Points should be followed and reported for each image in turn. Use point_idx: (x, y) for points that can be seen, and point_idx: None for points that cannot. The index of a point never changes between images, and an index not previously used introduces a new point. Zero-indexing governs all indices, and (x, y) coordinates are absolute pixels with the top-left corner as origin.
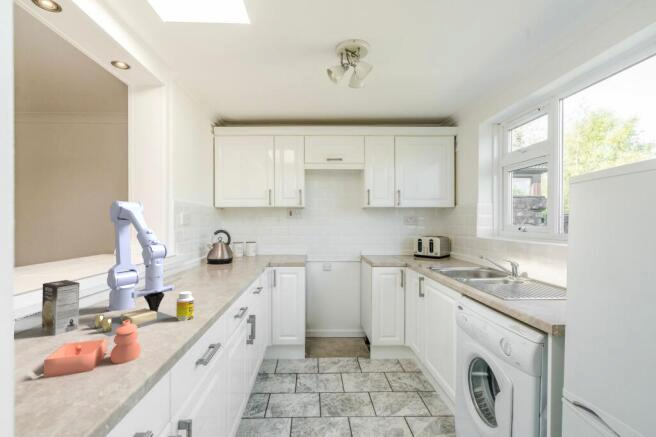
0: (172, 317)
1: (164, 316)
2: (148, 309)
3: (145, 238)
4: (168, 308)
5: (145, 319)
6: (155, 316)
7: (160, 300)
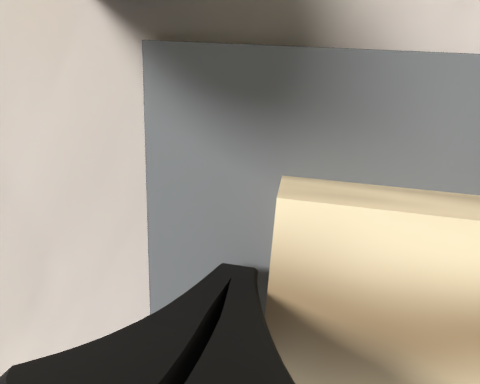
0: (170, 64)
1: (196, 175)
2: None
3: None
4: None
5: (413, 194)
6: (294, 183)
7: (128, 338)
